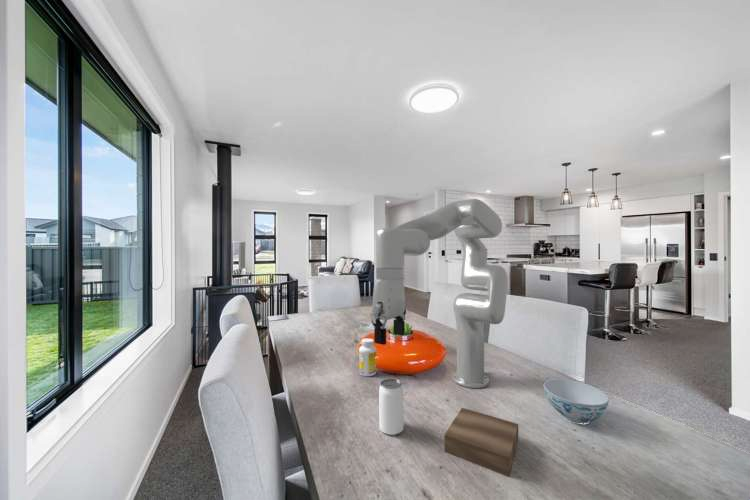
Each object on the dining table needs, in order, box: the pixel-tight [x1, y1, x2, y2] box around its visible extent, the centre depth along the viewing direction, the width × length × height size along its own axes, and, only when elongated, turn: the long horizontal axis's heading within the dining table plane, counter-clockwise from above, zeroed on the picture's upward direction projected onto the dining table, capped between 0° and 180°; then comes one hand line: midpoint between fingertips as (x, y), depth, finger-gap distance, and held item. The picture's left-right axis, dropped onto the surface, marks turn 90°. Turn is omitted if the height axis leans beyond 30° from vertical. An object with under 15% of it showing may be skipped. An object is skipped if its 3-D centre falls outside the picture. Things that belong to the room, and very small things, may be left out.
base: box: [443, 407, 519, 478], centre depth 70 cm, size 14×14×4 cm
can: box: [378, 378, 404, 436], centre depth 77 cm, size 6×6×12 cm
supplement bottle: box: [358, 338, 378, 377], centre depth 112 cm, size 7×7×13 cm
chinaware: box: [543, 378, 610, 424], centre depth 81 cm, size 15×15×8 cm
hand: (390, 338), depth 77 cm, fingers open, 9 cm apart
